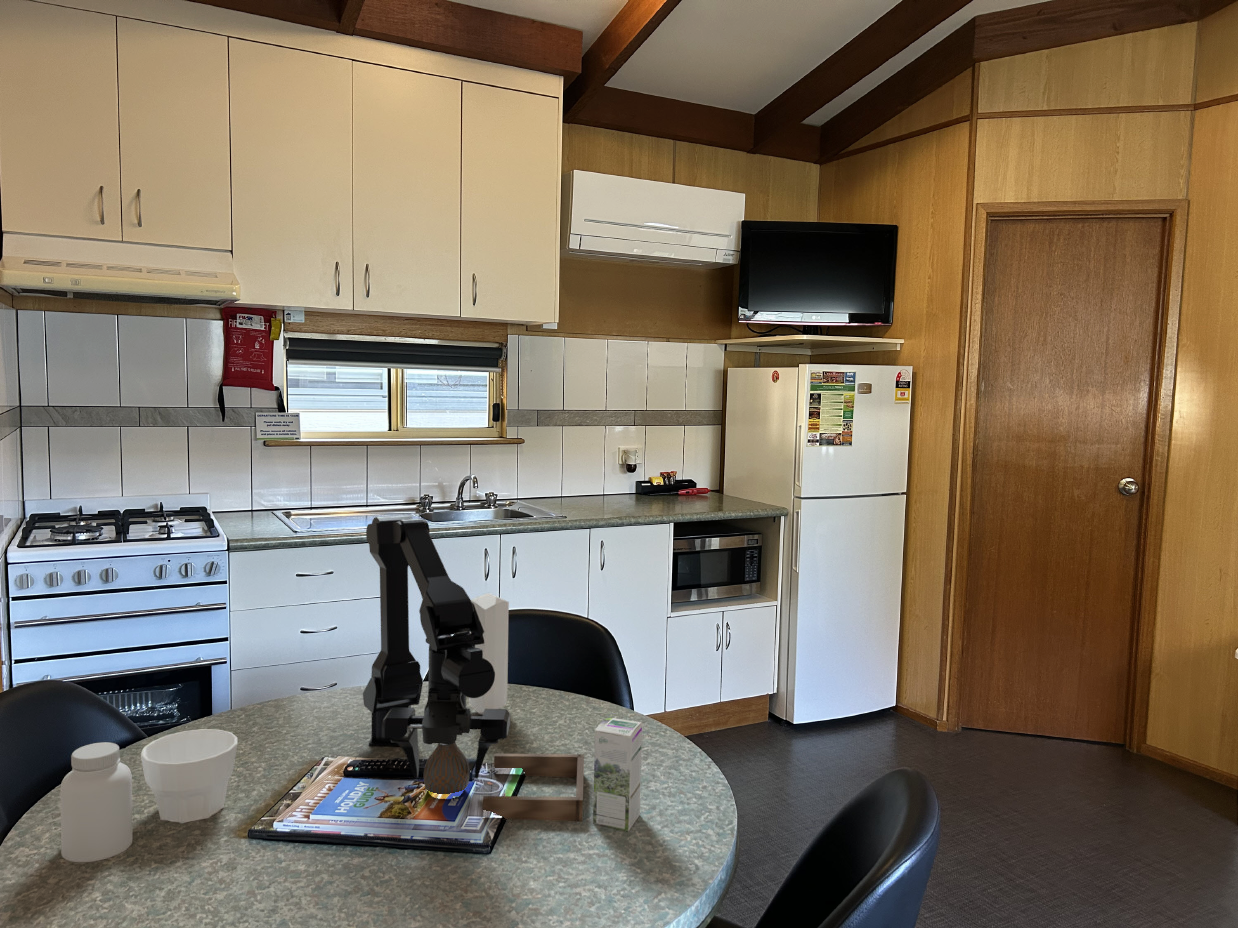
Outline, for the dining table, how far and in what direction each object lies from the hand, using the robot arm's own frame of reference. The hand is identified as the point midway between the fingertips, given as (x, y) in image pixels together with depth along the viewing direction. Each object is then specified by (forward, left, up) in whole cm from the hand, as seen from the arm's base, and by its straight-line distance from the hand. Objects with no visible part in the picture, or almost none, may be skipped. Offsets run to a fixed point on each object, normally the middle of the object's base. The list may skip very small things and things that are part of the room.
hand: (446, 777), depth 133 cm
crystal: (+2, +33, -3) cm, 34 cm away
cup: (-35, -8, -3) cm, 36 cm away
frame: (+14, 0, -3) cm, 14 cm away
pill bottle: (-42, -19, -3) cm, 46 cm away
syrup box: (+26, -7, -3) cm, 27 cm away
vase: (0, 0, -3) cm, 3 cm away
